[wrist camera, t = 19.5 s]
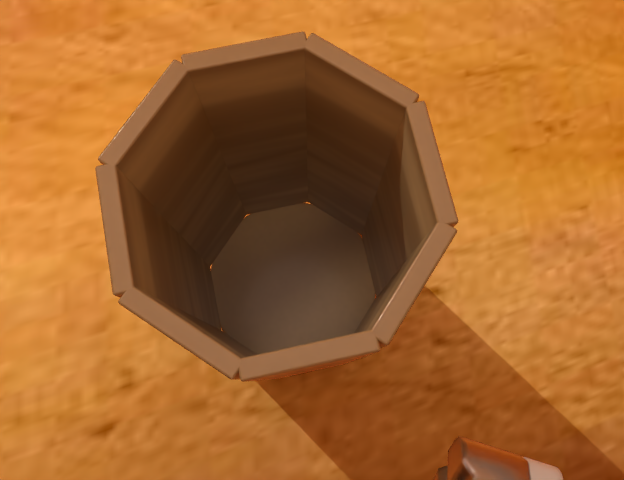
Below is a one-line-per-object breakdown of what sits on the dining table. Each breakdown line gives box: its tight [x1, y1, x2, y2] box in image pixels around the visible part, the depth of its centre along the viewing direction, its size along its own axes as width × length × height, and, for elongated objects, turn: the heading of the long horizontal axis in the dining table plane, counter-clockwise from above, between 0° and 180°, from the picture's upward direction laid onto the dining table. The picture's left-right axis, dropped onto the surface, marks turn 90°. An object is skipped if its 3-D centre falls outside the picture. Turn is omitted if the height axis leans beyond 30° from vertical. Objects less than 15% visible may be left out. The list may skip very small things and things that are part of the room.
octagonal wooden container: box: [96, 32, 458, 381], centre depth 16 cm, size 6×6×11 cm
